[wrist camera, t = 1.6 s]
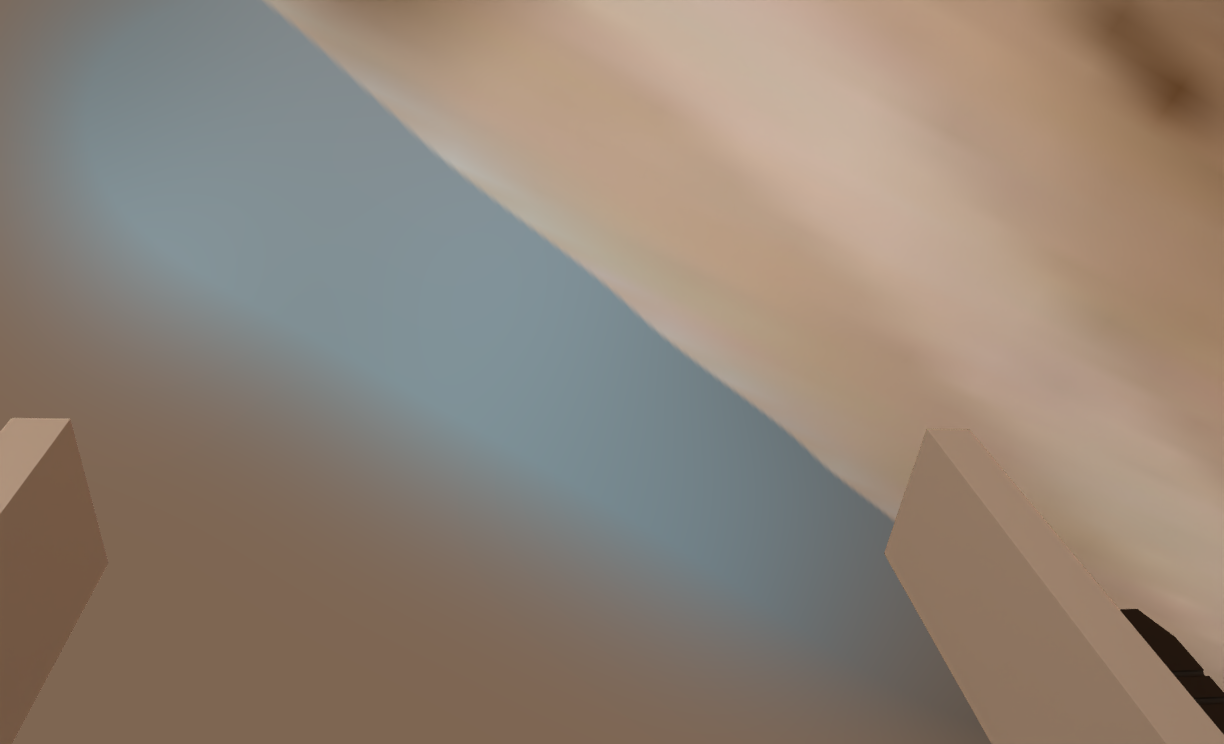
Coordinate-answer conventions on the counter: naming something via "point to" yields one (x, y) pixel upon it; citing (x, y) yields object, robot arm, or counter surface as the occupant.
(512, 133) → the counter surface
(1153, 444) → the counter surface
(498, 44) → the counter surface
